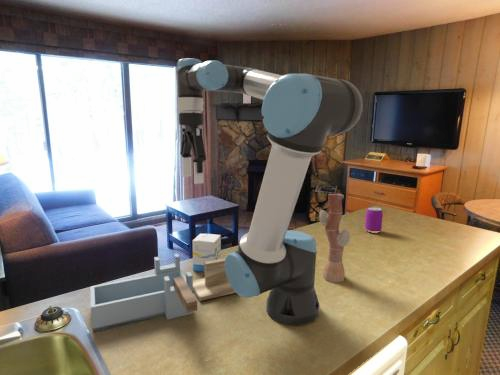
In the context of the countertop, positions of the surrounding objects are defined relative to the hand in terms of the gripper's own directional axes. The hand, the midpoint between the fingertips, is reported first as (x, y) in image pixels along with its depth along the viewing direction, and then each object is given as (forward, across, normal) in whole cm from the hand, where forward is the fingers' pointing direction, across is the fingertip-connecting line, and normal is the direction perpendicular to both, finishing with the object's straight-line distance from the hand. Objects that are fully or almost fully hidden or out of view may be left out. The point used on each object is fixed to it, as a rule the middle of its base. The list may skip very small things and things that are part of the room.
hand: (192, 179), depth 106 cm
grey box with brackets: (+35, -11, +19) cm, 41 cm away
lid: (+34, -9, -10) cm, 37 cm away
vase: (+35, -18, -44) cm, 59 cm away
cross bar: (+26, -25, +10) cm, 37 cm away
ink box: (+35, +8, -7) cm, 37 cm away
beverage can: (+35, +12, -95) cm, 102 cm away
